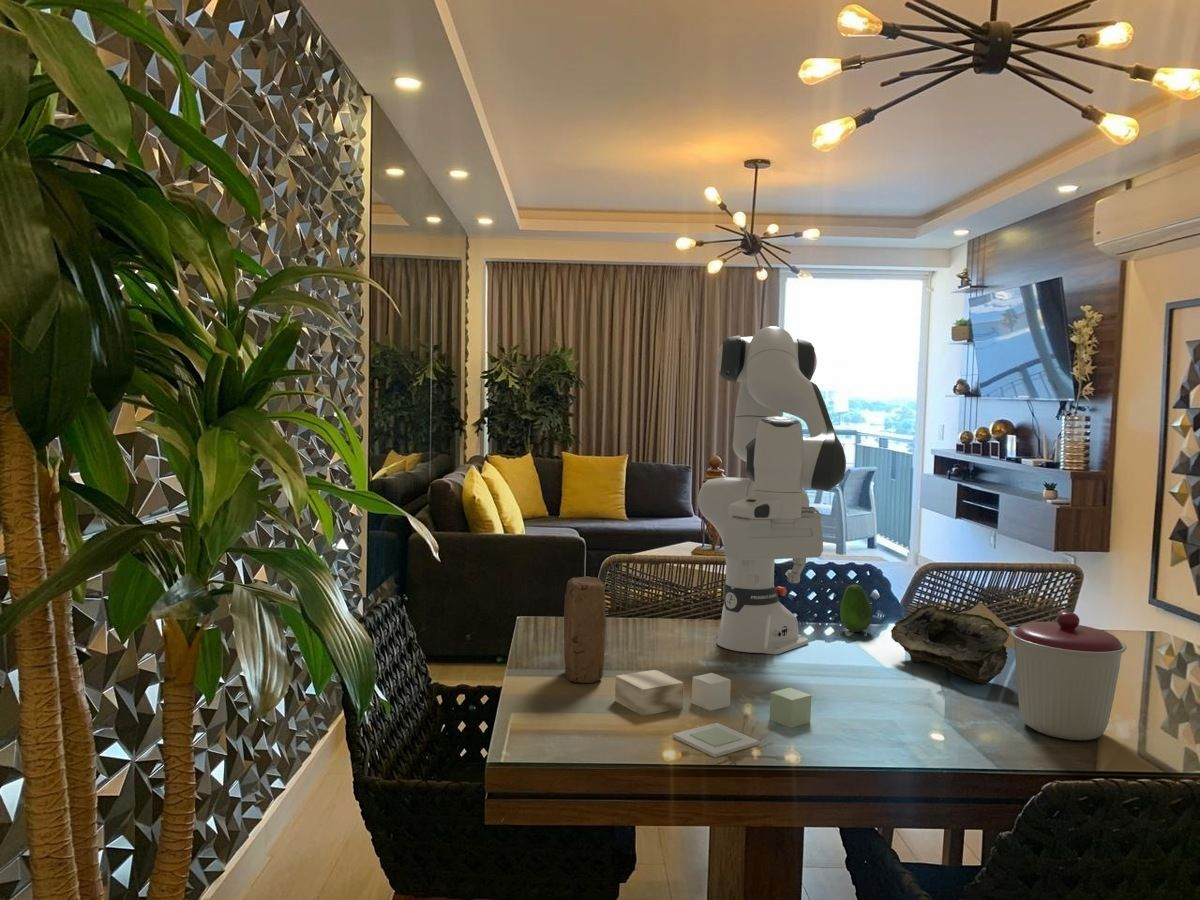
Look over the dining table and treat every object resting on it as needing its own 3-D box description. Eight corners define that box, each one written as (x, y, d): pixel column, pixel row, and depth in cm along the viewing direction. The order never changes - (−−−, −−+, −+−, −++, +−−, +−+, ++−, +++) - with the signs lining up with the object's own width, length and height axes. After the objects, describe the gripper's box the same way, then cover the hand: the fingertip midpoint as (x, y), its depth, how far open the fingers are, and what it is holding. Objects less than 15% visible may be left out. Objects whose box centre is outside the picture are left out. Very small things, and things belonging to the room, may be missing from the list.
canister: (986, 712, 166) (992, 600, 164) (1080, 712, 167) (1086, 601, 166) (1041, 750, 148) (1048, 624, 146) (1145, 750, 149) (1153, 625, 148)
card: (716, 726, 155) (716, 721, 154) (759, 744, 146) (759, 739, 146) (672, 737, 149) (673, 732, 149) (714, 757, 141) (714, 752, 141)
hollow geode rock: (1002, 715, 178) (1047, 658, 181) (968, 675, 175) (1014, 618, 177) (909, 670, 205) (950, 621, 207) (878, 635, 201) (920, 586, 204)
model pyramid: (928, 641, 218) (930, 600, 218) (961, 630, 230) (963, 592, 229) (996, 656, 206) (998, 613, 205) (1027, 644, 218) (1029, 604, 217)
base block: (654, 695, 171) (655, 669, 171) (682, 709, 163) (683, 682, 163) (615, 702, 166) (615, 675, 166) (641, 717, 159) (642, 689, 158)
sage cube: (788, 714, 162) (789, 687, 161) (810, 723, 158) (811, 695, 157) (769, 719, 159) (770, 692, 158) (791, 728, 155) (792, 700, 154)
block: (605, 684, 176) (608, 584, 175) (567, 685, 174) (570, 584, 173) (595, 668, 186) (598, 573, 185) (560, 669, 185) (562, 573, 184)
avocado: (833, 628, 227) (835, 581, 226) (862, 627, 228) (864, 581, 228) (847, 636, 219) (849, 588, 218) (877, 635, 220) (879, 587, 220)
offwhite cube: (711, 698, 169) (712, 672, 169) (729, 706, 165) (730, 679, 165) (691, 703, 166) (692, 676, 166) (710, 711, 162) (710, 684, 162)
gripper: (809, 505, 168) (805, 578, 168) (720, 505, 158) (717, 583, 158) (832, 508, 162) (829, 584, 162) (742, 509, 152) (738, 589, 153)
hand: (773, 583), depth 160 cm, fingers open, 8 cm apart
